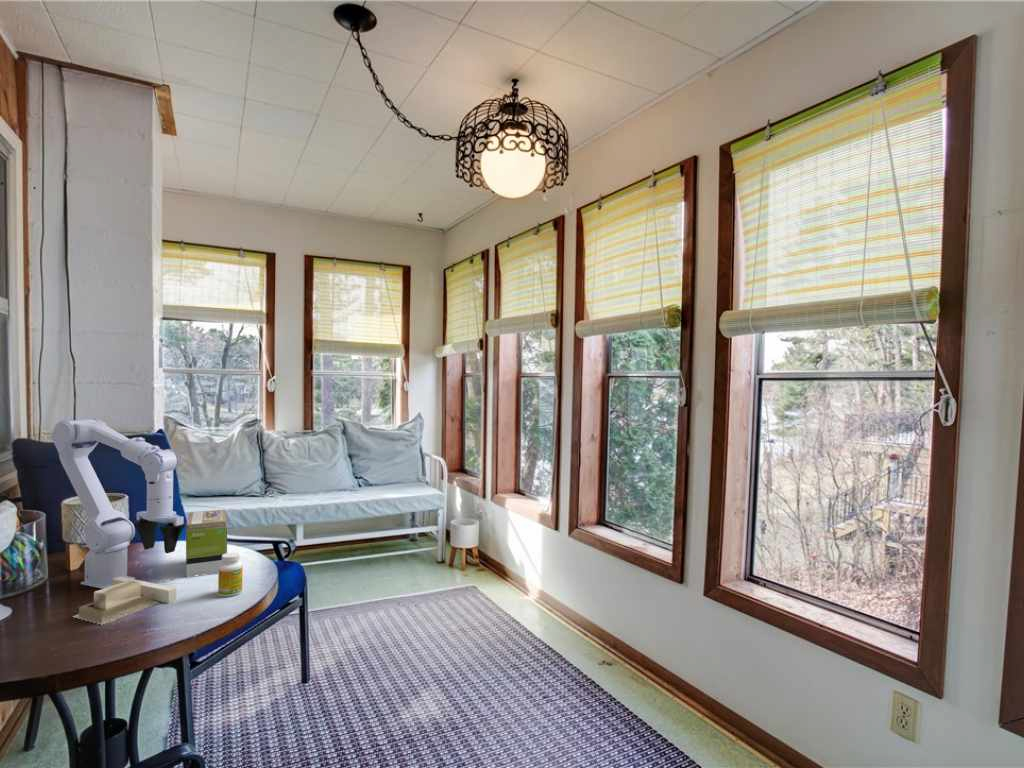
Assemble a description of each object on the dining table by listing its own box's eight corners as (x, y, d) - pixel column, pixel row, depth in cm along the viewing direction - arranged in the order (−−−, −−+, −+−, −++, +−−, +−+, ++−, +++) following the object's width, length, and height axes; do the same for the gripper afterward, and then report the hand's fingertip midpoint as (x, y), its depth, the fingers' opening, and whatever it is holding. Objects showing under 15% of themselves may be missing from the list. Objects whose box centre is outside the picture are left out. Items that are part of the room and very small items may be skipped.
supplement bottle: (232, 598, 138) (232, 558, 138) (213, 596, 139) (213, 557, 139) (246, 590, 144) (247, 552, 143) (228, 588, 145) (228, 550, 145)
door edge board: (112, 590, 142) (112, 578, 142) (120, 588, 144) (120, 576, 144) (168, 603, 135) (168, 590, 135) (176, 600, 136) (176, 588, 136)
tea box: (188, 561, 165) (188, 511, 165) (226, 557, 170) (227, 508, 169) (185, 578, 152) (185, 523, 152) (226, 572, 156) (227, 519, 156)
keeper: (72, 617, 126) (72, 607, 126) (129, 597, 138) (130, 587, 138) (102, 625, 122) (102, 614, 122) (158, 603, 134) (158, 593, 134)
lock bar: (93, 614, 127) (93, 591, 127) (128, 601, 135) (129, 580, 135) (105, 617, 126) (105, 594, 126) (140, 603, 133) (140, 582, 133)
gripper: (194, 497, 146) (193, 549, 146) (154, 492, 151) (154, 542, 151) (169, 502, 139) (168, 557, 139) (128, 497, 145) (128, 550, 145)
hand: (159, 550), depth 145 cm, fingers open, 7 cm apart
